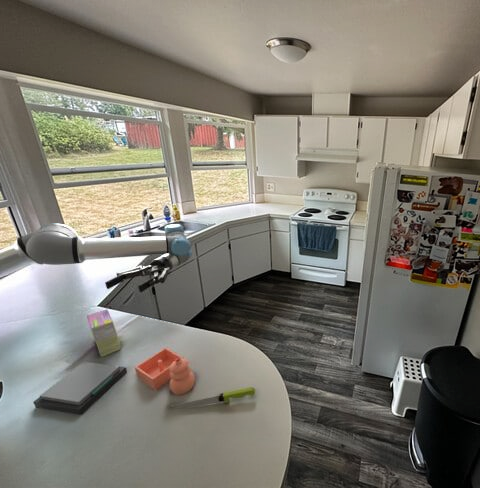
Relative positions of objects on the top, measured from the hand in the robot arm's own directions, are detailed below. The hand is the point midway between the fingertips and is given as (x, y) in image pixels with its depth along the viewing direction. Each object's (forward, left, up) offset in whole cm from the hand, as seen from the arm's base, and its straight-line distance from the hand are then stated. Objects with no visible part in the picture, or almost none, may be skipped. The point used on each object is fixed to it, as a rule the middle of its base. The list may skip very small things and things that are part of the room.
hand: (123, 287), depth 93 cm
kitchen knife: (+49, -25, -18) cm, 58 cm away
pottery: (+31, -20, -18) cm, 41 cm away
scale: (+9, -27, -18) cm, 33 cm away
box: (0, -11, -18) cm, 21 cm away
